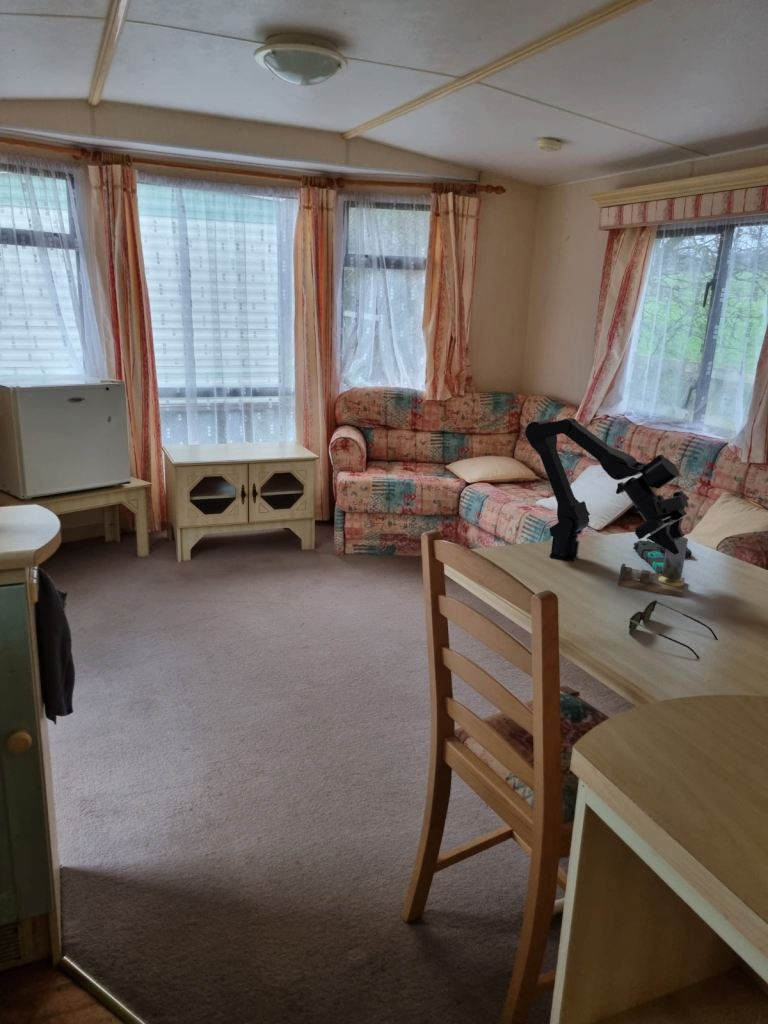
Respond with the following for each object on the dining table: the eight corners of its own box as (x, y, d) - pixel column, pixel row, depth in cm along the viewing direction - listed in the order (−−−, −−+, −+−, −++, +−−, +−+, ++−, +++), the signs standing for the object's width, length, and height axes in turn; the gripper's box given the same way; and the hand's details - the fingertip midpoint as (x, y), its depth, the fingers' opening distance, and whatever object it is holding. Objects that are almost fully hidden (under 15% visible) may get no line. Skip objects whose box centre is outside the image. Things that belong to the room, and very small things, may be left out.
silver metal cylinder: (666, 579, 175) (672, 540, 173) (658, 572, 180) (664, 535, 177) (684, 579, 176) (691, 541, 173) (676, 573, 180) (682, 535, 177)
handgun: (682, 540, 208) (630, 535, 208) (717, 571, 183) (658, 566, 183) (679, 551, 209) (628, 547, 209) (714, 585, 184) (656, 579, 185)
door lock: (617, 584, 178) (619, 568, 177) (623, 571, 187) (625, 555, 186) (681, 596, 172) (684, 579, 171) (684, 582, 182) (686, 566, 180)
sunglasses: (651, 618, 159) (656, 598, 158) (719, 644, 150) (725, 623, 149) (624, 638, 149) (630, 616, 147) (696, 667, 140) (702, 645, 138)
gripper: (655, 486, 167) (694, 543, 163) (684, 476, 180) (722, 527, 176) (618, 511, 174) (655, 566, 170) (649, 499, 188) (685, 549, 184)
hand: (681, 551), depth 175 cm, fingers closed on silver metal cylinder, 5 cm apart
